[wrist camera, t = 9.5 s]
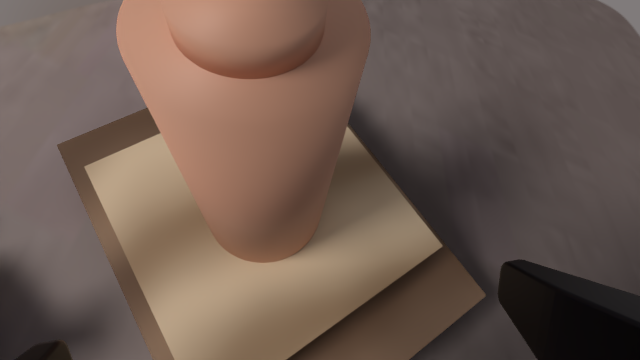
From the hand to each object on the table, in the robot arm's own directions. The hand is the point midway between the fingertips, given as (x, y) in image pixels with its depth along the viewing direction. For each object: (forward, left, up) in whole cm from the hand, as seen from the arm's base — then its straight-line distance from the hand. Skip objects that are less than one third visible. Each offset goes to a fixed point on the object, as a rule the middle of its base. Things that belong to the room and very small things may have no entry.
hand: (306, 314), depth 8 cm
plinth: (+6, -2, -12) cm, 13 cm away
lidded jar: (+5, -2, -8) cm, 10 cm away
